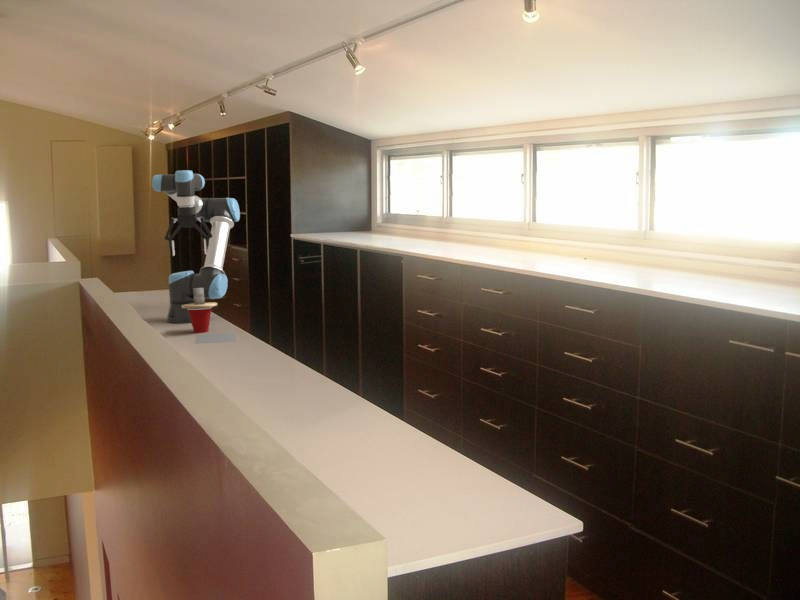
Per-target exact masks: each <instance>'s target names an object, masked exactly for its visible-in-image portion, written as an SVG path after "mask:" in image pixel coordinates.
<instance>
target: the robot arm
mask: <svg viewBox="0 0 800 600" xmlns="http://www.w3.org/2000/svg"><path fill="white" fill-rule="evenodd" d="M205 184H206V181H205V177H204V176H202V175H201V174H199V173H194V172H193V170H190V169H188V170H187V169H186V170H184V169H183V170H176V171H175V172H174V174H165V173H164V174H155V175H153V176H152V179H151V185H152V189H153V190H154V192H160V193H161V192H162V193H165V194H166V195H167V196H169V197H170V198H171V199H172V200H174V201H175V202H176V204H177V206H178V207H177V217H175V218H174V217H171V218H170V224H169V227H168V229H167V231H166V234H165V236H164V240H167V241H168V242H169V243H168V244H169V245H168V246H169V249H171V250H172V257H174V256H175V255H176V251H175V240H173V239H174V238H175V236H176V235H177V234H178V232H179V231H180V230H181V229H182V228H183V229H187V228H188V229H189V228H190V229H191V228H194V229H195V230H196V231H197V232H199V234H200V235H201V236H202V237H204V238H203V242H204V243H203V246H204V255H206V256H205V260H204V265H203V266H202V267H201V268H200V269H199V272H198V273H195V272H194V270H186V271H178V272H174V273H171V274H169V276H168V292H169V293H168V294H169V308H168V312H167V315H166V321H167V323H169V324H170V323H173V324H186V323H192V322H191V318H190V314H189V311H188V309H187V308H182V305H185V304H193V303H194V292H193V288H204V300H207V299H208V300H210V299H211V300H215V299H218V300H219V299H222V298H223V297H224V296H225V295H226V293H227V291H228V290H227V289H228V285H229V284H228V282H229V280H228V277H227V275H226V273H225V270H223V267H224V263H225V259H226V252H227V246H228V242H229V235H230V230H231V229H233V228H234V226H235V223H237V222H239V221H240V218H241V213H240V212H241V211H240V205H239V203H238V200H236V198H233V197H221V198H220V197H199V196H198V195H195V192H199V191H201V190H202V189H204V188H205ZM198 221H199V223H201V225H202V226H203V228H204V230H205V231H203V230H202V229H201V228H200V227H199V226H198V224H196V223H197V222H198ZM176 222H178V224H179V225H178V226H177V228H176V229H175V231H174V232H173V233H172V234H171V236H170V233H171V231H172V229H173V227H174V224H176ZM205 222H206V223H210V224H211V229H209V227H208V226H207V224H206V223H205ZM205 232H206V233H207V234H208V235H207V234H206V233H205ZM169 236H170V237H169Z"/></svg>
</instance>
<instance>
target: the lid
mask: <svg viewBox="0 0 800 600" xmlns="http://www.w3.org/2000/svg"><path fill="white" fill-rule="evenodd" d="M193 292H194V303H193V304H185V305H182V308H205V307H212V308H213V307H218V302H206V299H204V288H193Z"/></svg>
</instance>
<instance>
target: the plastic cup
mask: <svg viewBox="0 0 800 600" xmlns="http://www.w3.org/2000/svg"><path fill="white" fill-rule="evenodd" d="M212 308H213V307H205V308H187V309H188V311H189V314H190V318H191V322H190V323H191V326H192V329H193V332H194V333H196V334H203V333H208V332H209V329H210V328H209V327H210V321H211V313H212Z"/></svg>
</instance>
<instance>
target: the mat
mask: <svg viewBox="0 0 800 600" xmlns="http://www.w3.org/2000/svg"><path fill="white" fill-rule="evenodd" d="M236 338H237V333H236V332H229V333H228V332H227V333H226V332H225V333H207V334H197V336H196V339H195V341H194V344H209V343H223V342H224V343H226V342H236V340H237V339H236Z"/></svg>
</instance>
